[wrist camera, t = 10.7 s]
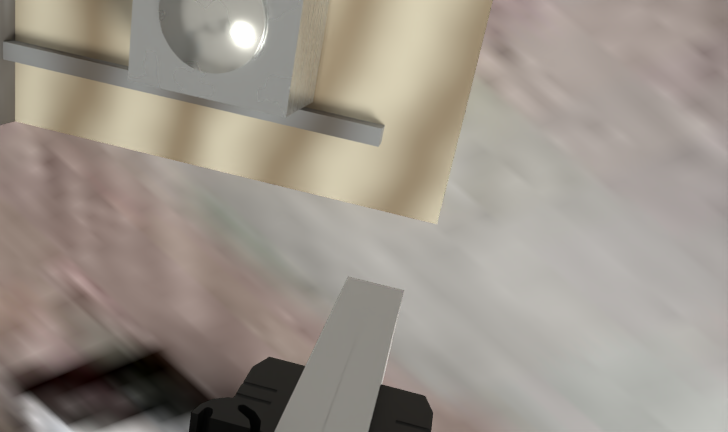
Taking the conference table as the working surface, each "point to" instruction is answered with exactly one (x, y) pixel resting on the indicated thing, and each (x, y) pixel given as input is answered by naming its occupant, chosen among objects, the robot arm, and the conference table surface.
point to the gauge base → (258, 129)
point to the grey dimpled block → (230, 50)
